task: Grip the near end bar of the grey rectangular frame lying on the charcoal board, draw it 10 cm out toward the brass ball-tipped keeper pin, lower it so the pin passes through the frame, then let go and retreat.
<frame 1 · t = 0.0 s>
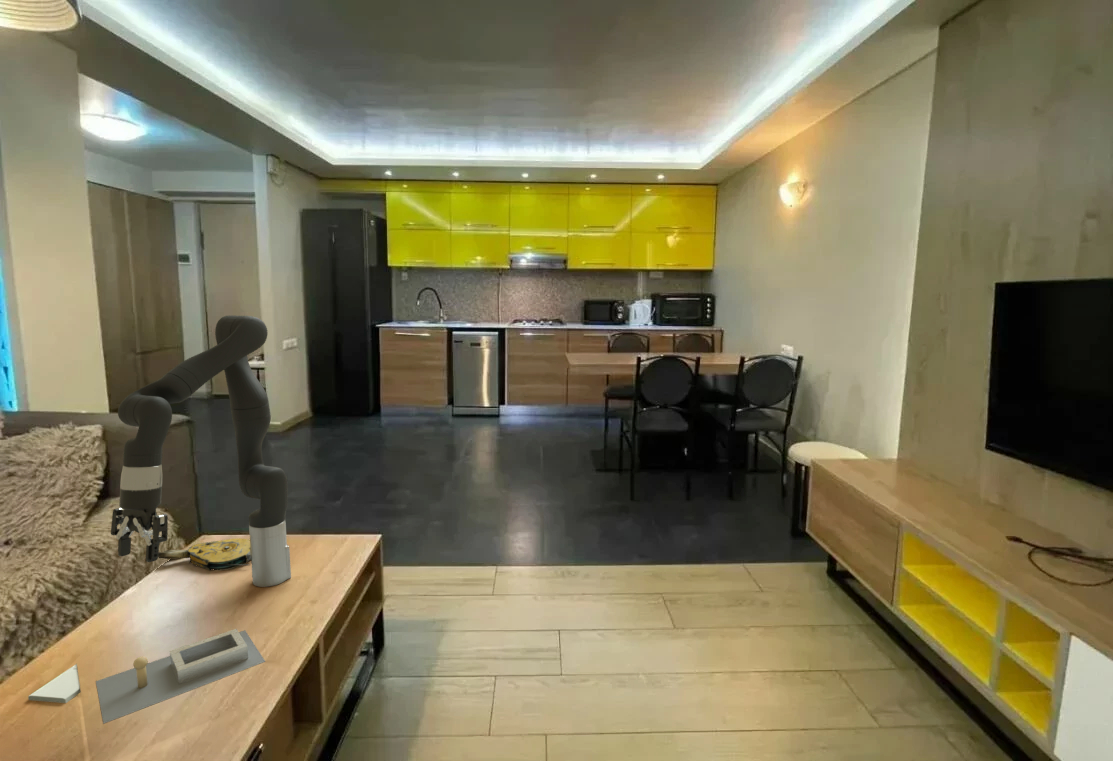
hand: (137, 558, 128), 22 cm above the table, tool pointing down, fingers open, 8 cm apart
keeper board: (183, 676, 122), on the table
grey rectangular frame: (209, 661, 126), point 1 cm above the table, touching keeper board
pulley block: (210, 561, 176), on the table
external hard drive: (76, 684, 121), on the table
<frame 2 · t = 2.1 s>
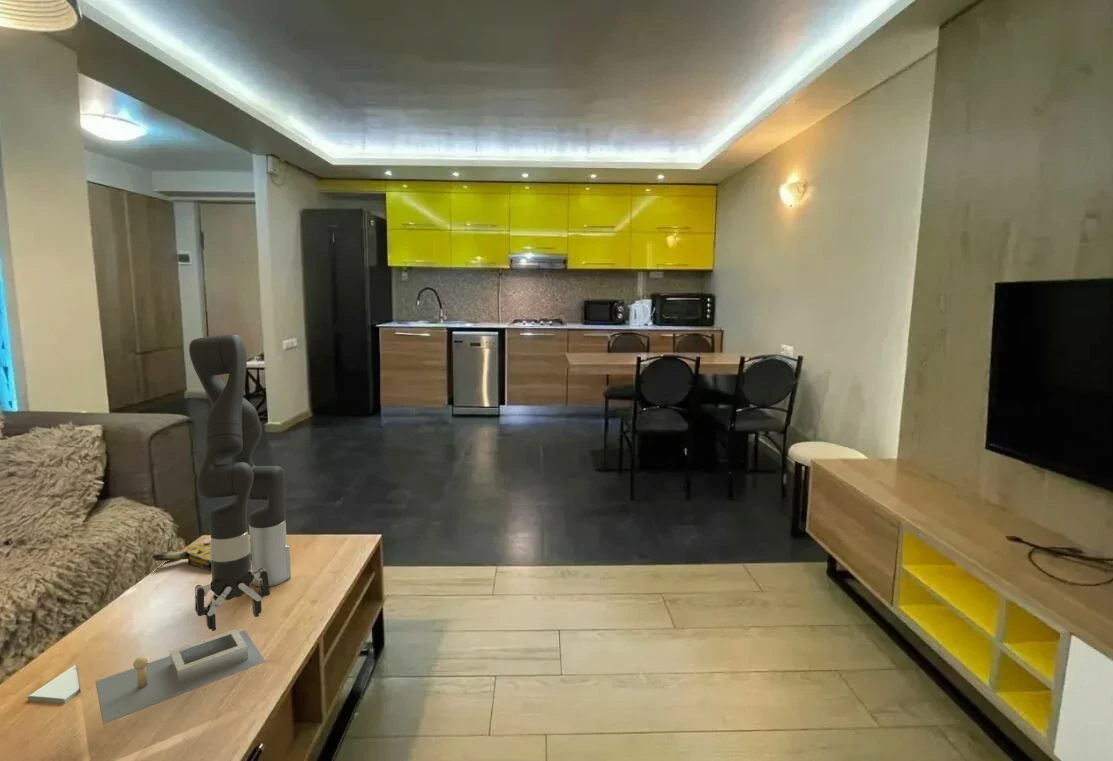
hand: (234, 622, 128), 8 cm above the table, tool pointing down, fingers open, 8 cm apart
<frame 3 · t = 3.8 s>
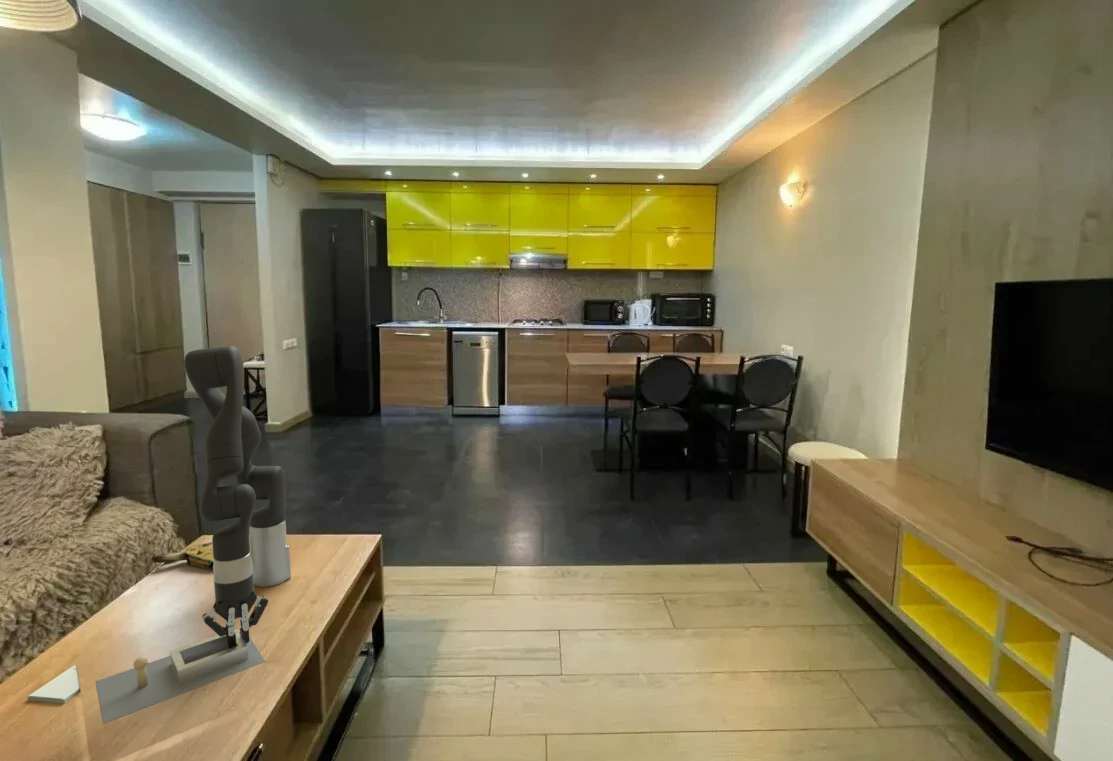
hand: (238, 646, 129), 2 cm above the table, tool pointing down, fingers closed on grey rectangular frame
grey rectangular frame: (210, 661, 126), point 1 cm above the table, touching gripper
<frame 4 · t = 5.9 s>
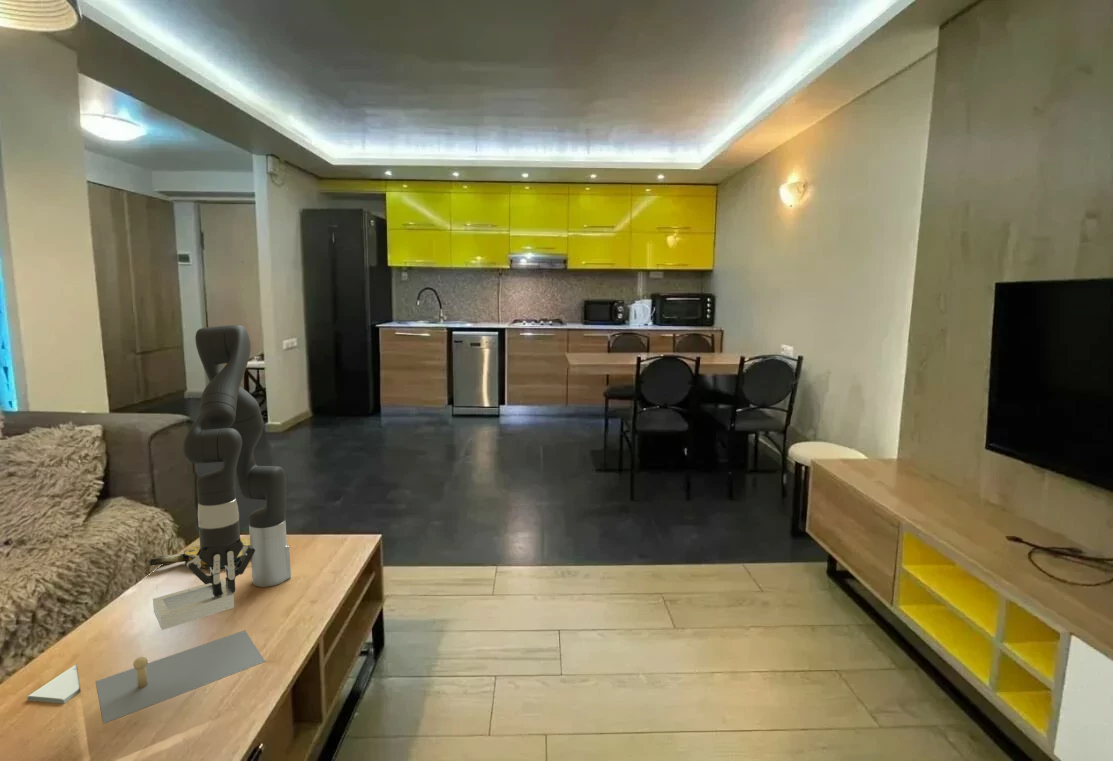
hand: (224, 596, 126), 15 cm above the table, tool pointing down, fingers closed on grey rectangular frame
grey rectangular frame: (194, 609, 122), point 14 cm above the table, touching gripper
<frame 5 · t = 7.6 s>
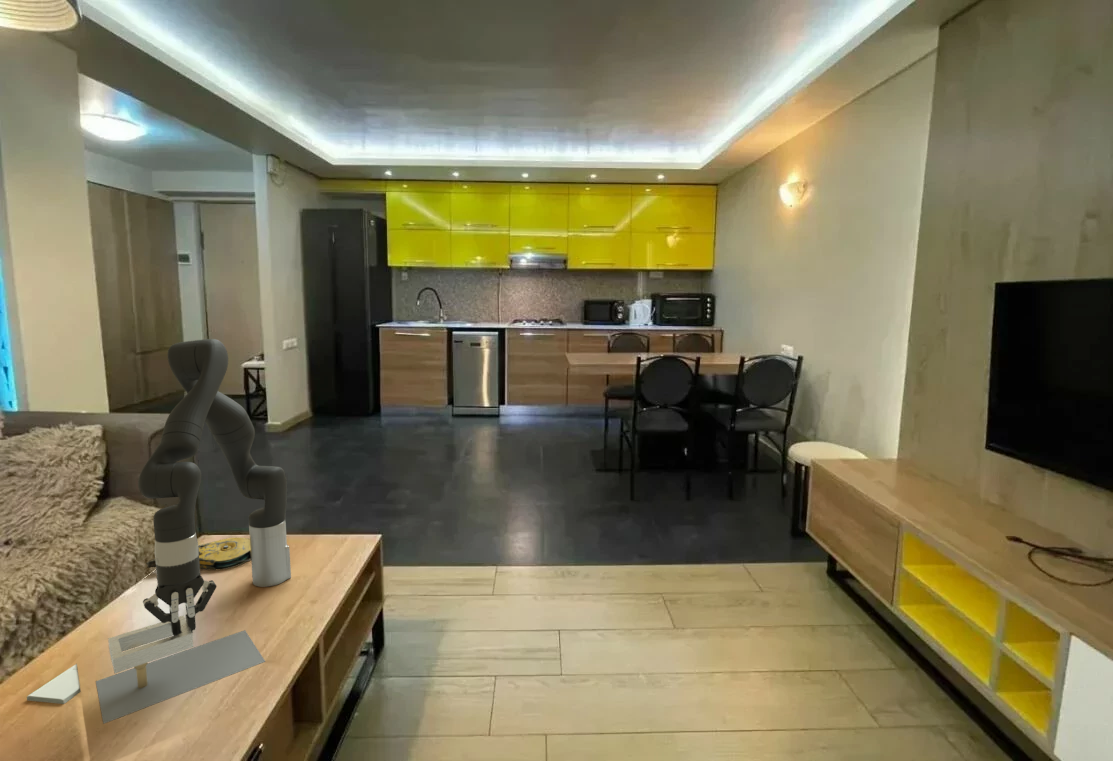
hand: (184, 634, 122), 9 cm above the table, tool pointing down, fingers closed on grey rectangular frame
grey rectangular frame: (151, 649, 118), point 8 cm above the table, touching gripper
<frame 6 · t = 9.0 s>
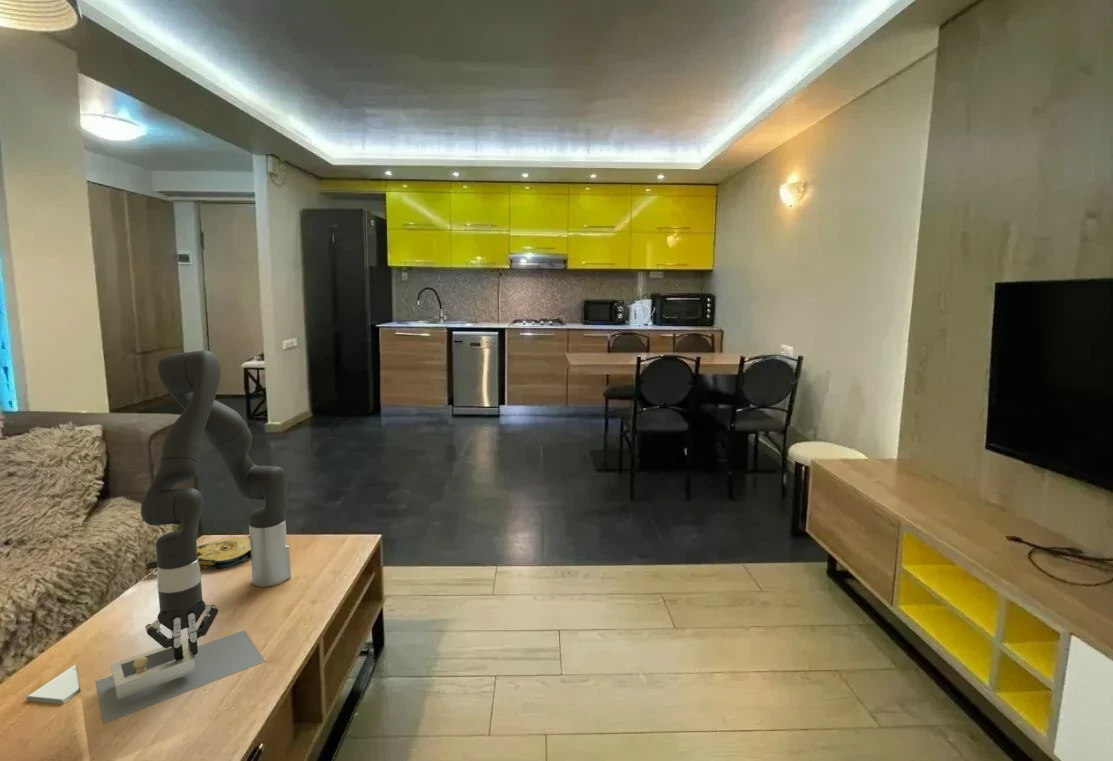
hand: (186, 658, 122), 4 cm above the table, tool pointing down, fingers closed on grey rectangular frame
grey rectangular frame: (154, 674, 119), point 3 cm above the table, touching gripper
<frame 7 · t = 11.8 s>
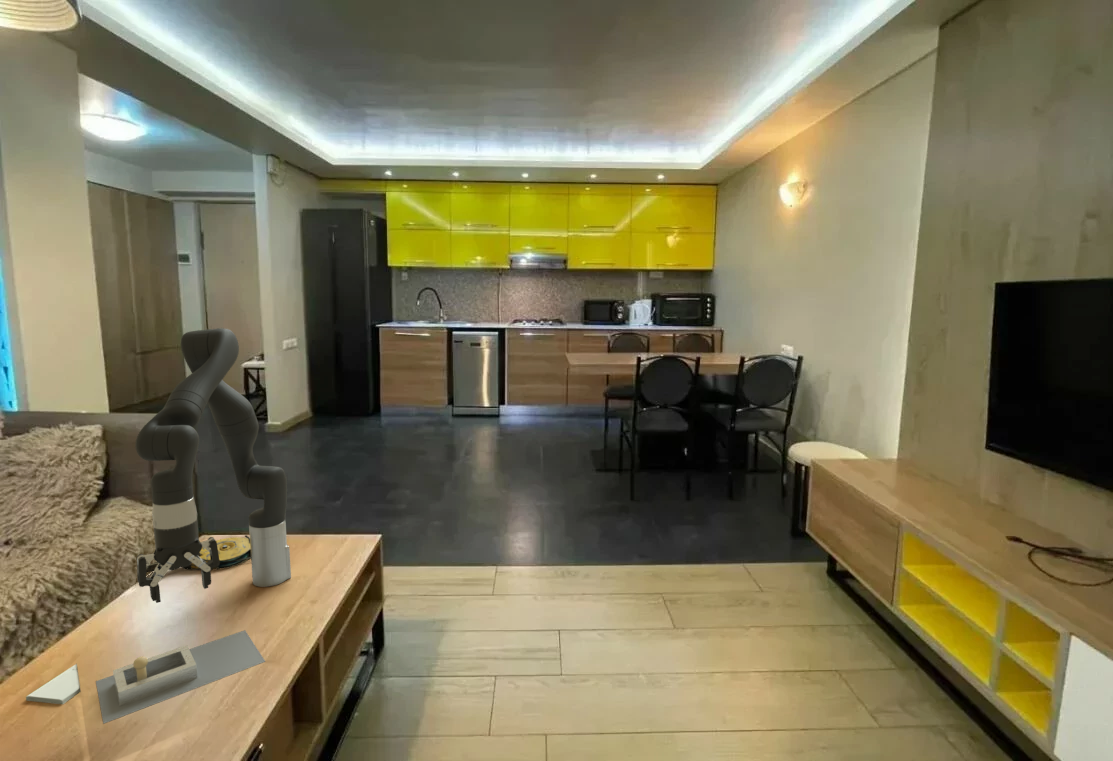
hand: (182, 594, 121), 18 cm above the table, tool pointing down, fingers open, 8 cm apart
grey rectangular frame: (156, 680, 119), point 1 cm above the table, touching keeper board
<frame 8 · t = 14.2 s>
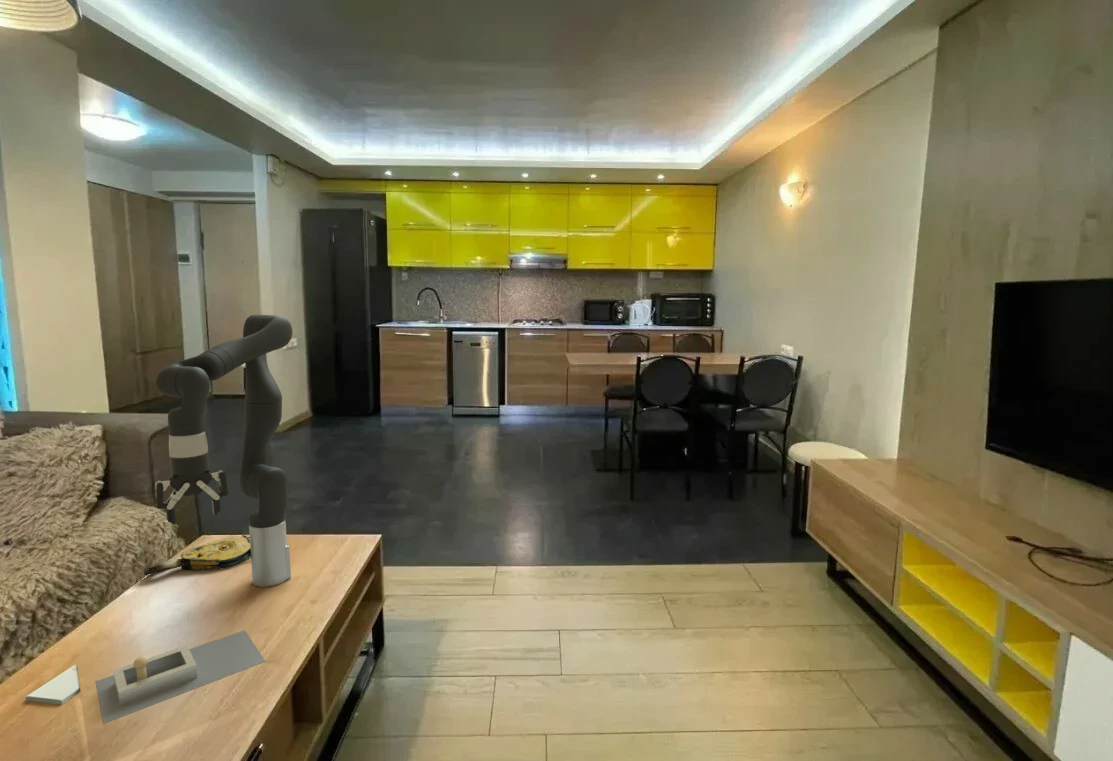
hand: (194, 518, 136), 28 cm above the table, tool pointing down, fingers open, 8 cm apart
at the end: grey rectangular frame inside the target area on the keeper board (2.3 cm from its centre), point 1.2 cm above the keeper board's base; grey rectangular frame moved 9.7 cm from its start; the gripper is holding nothing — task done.
